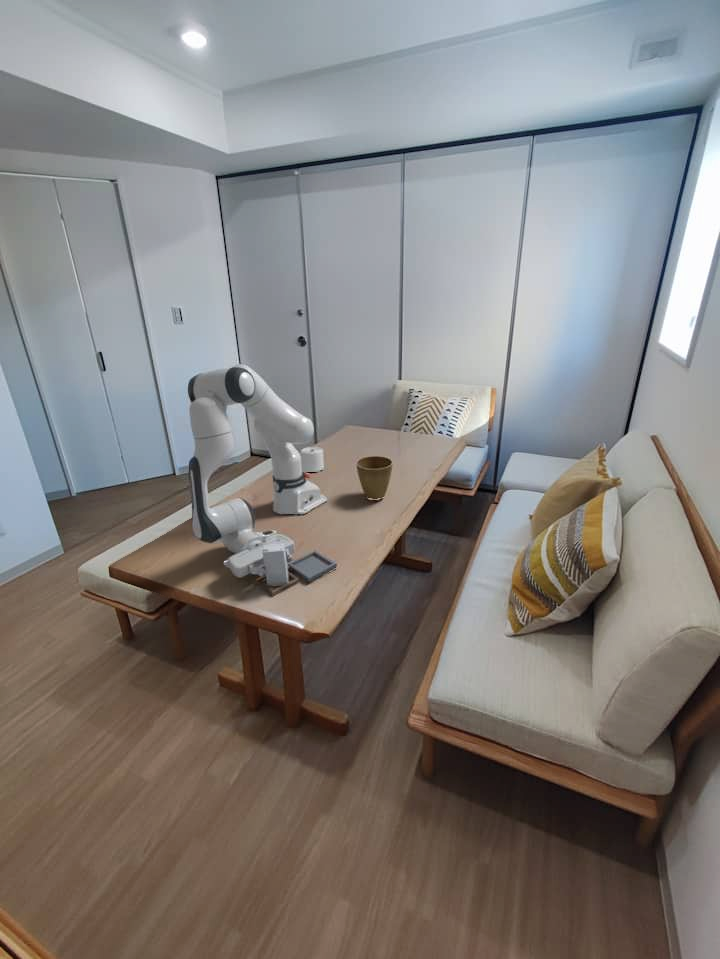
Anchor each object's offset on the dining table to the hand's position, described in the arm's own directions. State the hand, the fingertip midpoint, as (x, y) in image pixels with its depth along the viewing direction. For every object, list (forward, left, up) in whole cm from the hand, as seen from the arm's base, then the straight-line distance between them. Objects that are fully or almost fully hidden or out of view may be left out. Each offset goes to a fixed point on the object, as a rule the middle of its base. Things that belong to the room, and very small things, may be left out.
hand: (277, 566), depth 122 cm
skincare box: (0, -1, -6) cm, 6 cm away
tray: (-12, +1, -6) cm, 13 cm away
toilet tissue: (-64, -65, -6) cm, 91 cm away
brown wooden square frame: (0, -1, -6) cm, 6 cm away
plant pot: (-62, -21, -6) cm, 66 cm away
